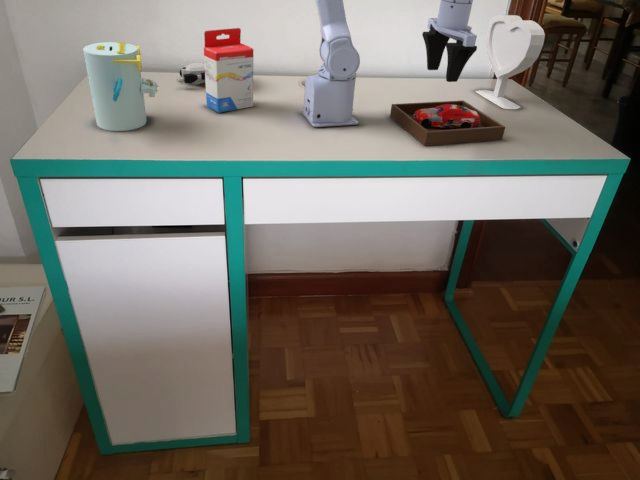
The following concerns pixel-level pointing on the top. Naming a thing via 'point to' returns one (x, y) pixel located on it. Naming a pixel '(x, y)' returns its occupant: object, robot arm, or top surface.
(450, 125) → the race car
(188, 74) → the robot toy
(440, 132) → the tray
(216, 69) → the ink box
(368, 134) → the top surface
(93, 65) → the character sculpture
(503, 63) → the heart sculpture
